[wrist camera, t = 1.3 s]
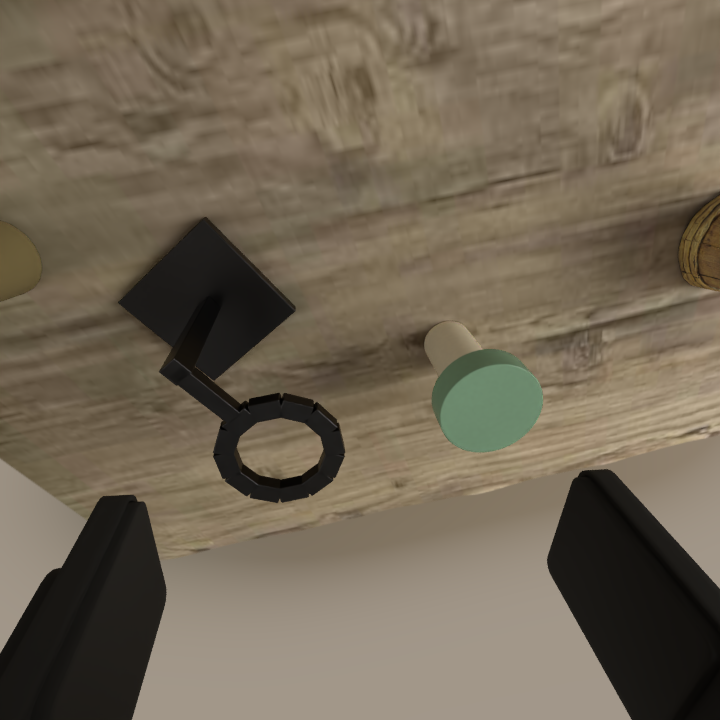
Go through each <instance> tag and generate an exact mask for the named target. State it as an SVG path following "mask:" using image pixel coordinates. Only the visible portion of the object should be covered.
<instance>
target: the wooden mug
mask: <svg viewBox="0 0 720 720" xmlns="http://www.w3.org/2000/svg"><path fill="white" fill-rule="evenodd" d="M678 259H679V264H680V269H681V272H682V275H683V278H684V279H685V280H686V281H687V282H688V283H689V284H691V285H693V286H697V287H701V288H705V289H710V290H714V291H720V195H719V196H718V197H716V198H715V199H713V200H712V201H711V202H709V203H708V204H706V205H705V206H703V208H702V209H701V210H700V211H699V212H698V213H697V214H696V215H695V216H694V217H693V218H692V219H691V221H690V223H689V225H688V227H687V229H686V230H685V232H684V234H683V236H682V239H681V243H680V246H679V253H678Z"/></svg>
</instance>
